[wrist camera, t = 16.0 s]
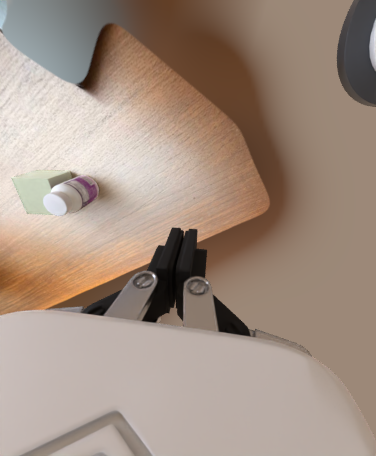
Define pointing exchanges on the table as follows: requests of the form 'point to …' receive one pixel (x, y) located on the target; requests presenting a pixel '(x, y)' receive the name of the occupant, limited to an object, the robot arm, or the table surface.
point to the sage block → (38, 188)
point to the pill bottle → (71, 195)
